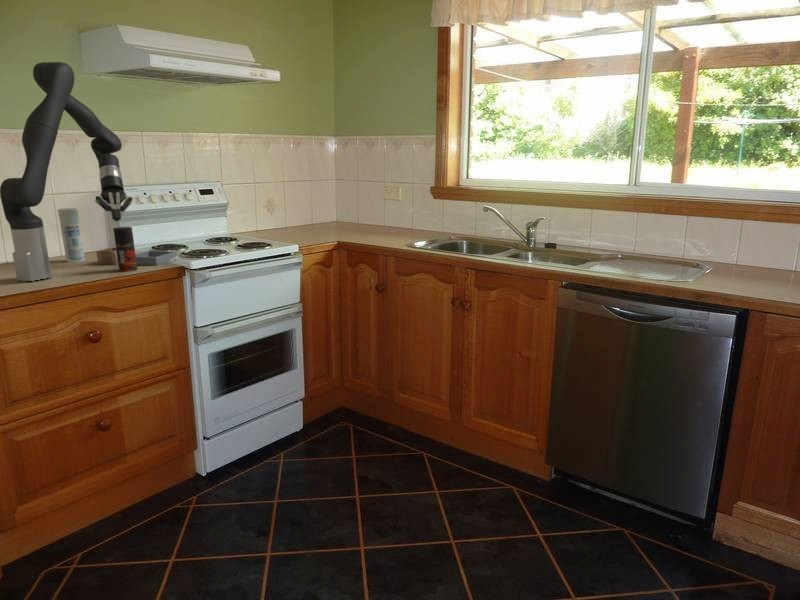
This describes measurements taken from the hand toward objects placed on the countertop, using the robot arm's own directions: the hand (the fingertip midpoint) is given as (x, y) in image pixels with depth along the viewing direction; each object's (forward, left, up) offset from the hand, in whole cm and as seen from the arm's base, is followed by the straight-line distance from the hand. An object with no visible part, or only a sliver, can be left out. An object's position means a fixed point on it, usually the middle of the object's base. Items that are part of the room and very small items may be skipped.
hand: (117, 219), depth 214 cm
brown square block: (+4, +7, -17) cm, 18 cm away
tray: (+8, -7, -17) cm, 20 cm away
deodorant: (-7, -8, -17) cm, 20 cm away
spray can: (+4, +25, -17) cm, 30 cm away
